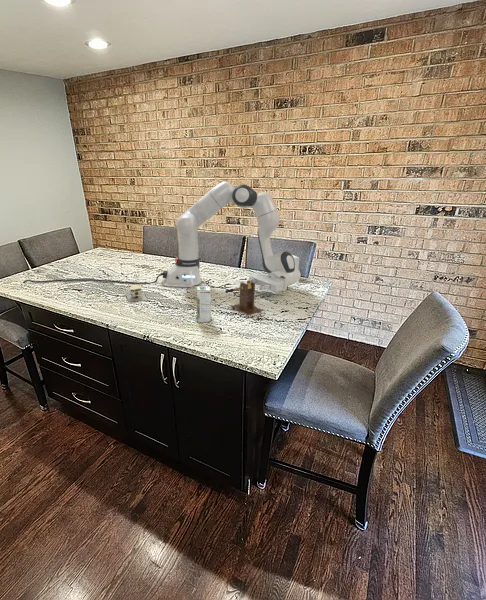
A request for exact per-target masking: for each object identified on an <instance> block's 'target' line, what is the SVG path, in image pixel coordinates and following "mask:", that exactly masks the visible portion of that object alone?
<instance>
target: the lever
mask: <svg viewBox="0 0 486 600" xmlns="http://www.w3.org/2000/svg"><path fill="white" fill-rule="evenodd" d="M250 288H252V287H251V283H248V289H250ZM237 291H240V286H239V287H235V288H231V289H226V290H225V293H226V294H228V293H232V292H237Z"/></svg>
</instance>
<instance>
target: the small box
mask: <svg viewBox="0 0 486 600" xmlns="http://www.w3.org/2000/svg"><path fill="white" fill-rule="evenodd" d="M292 256H293V258H294V262H295V266H296V268H297V269H298V270H299V268H300V267H299V266H300V257H299V256H296V255H294V254H292Z"/></svg>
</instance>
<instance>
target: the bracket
mask: <svg viewBox="0 0 486 600" xmlns="http://www.w3.org/2000/svg"><path fill="white" fill-rule="evenodd" d="M248 283H251V287H252V288H250V289H248ZM239 287H240V290H239V303H238V304H234V305H231V306H230V307H231V308H232V309H234V310H236V311H238V312H240V313H242V314H243V315H245V316H250V315H251V316H252V315H255V314H258V313H261V312H263V309H260V308H259V307H257V306H255V295H256V294H255V292H256V284H255V283H254V282H252V281H249V279H248V280H247V281H246V283H245V282H243V281H240V283H239Z"/></svg>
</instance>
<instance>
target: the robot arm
mask: <svg viewBox="0 0 486 600" xmlns="http://www.w3.org/2000/svg"><path fill="white" fill-rule="evenodd" d="M229 203H233V204H235V205H236V206H237V207H239V208H240V209H241V208H242V209H247V208H249V207H250V208H251V209H252V210H253V211H254V214H255V218H256V221H257V227H258V228H257V239H258V245H259V249H260V254H261V260H262V268H263V270H264V271H265V272H266V273H267V275H265V274H262V273H254V274H250V275H249V276H248V277H249V278H248V280H249V281H252V282H254V283H255V286H258V287H259V290H261V291H263V290H268V291H271V292H273V293H280V292H286V291H287V288H288V286H292V285H295V284H297V283H298V282H299V281H300V279H301V277H302V274H301V271H300V269H299V268H298V269H297V268H296V266H295V262H294V258H293V256H292V255H293V254H292V253H291V252H289V251H281V252H277V253H273V248H272V244H271V236H272V234H273V233H274V231H275V230H276V229H277V228H278V226H279V224H280V222H281V221H280V214H279V212H278V208H277V205H276V204H275V201H274V199H273V197H272V195H271V194H270V193H269V192H267V191H262V192H258V193H257V192H256V191H255V189H253V188H252V187H251V186H249V185H247V184H239V185H237V186H236V187H235V186H234V185H233V184H232V183H231V182H230V181H227V180H224V181H221V182H220V183H218V184H216V185H215V186H214V187H212V188H211V189H210V190H209V191H208V192H206V193H205V194H204V195H203V196H202V197H201V198H199V199H198V200H197V201H196V202H194V204H192V205H191V206H190V207H189V208H188V209H186V210H185V211H184V212H183V213H182V214H181V215H180V216H179V217H178V218H177V220H176V235H177V243H178V257H177V256H176V257H174V261H175V264H174V265H173V266H172V267H170V269H169V270H163V271H162V273H160V274H159V275H157V276H156V279H155V280H154V281H151V282H148V281H147V282H146V281H145V282H144V281H143V282H141V281H140V282H138V281H137V282H136V281H123V280H111V279H110V280H109V279H94V278H93V279H91V278H69V279H68V278H65V279H49V280H31V279H25V280H24V281H23V282H22V284H25V283H27V282H30V283H37V284H38V283H49V282H51V283H52V282H68V281H69V282H70V281H87V282H88V281H93V282H106V283H107V282H108V283H120V284H132V285H149V284H155V283H157V282H158V279H159V277H162V278H163V279H162V286H164V287H176V288H192V287H194V286H198V285H200V284H202V283H203V281H202V277H201V271H200V267H201V260H200V256H199V255H200V254H199V253H200V252H199V251H200V250H199V235H198V234H199V233H198V232H199V231H198V229H199V227H201V226H202V225H203V224H204V223H206V222H207V221H208V220H210V219H211V218H213V216H215V215H216V214H217V213H218V212H220V211H221V210H222V209H223V208H224V207H225V206H227V205H228V204H229Z"/></svg>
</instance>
